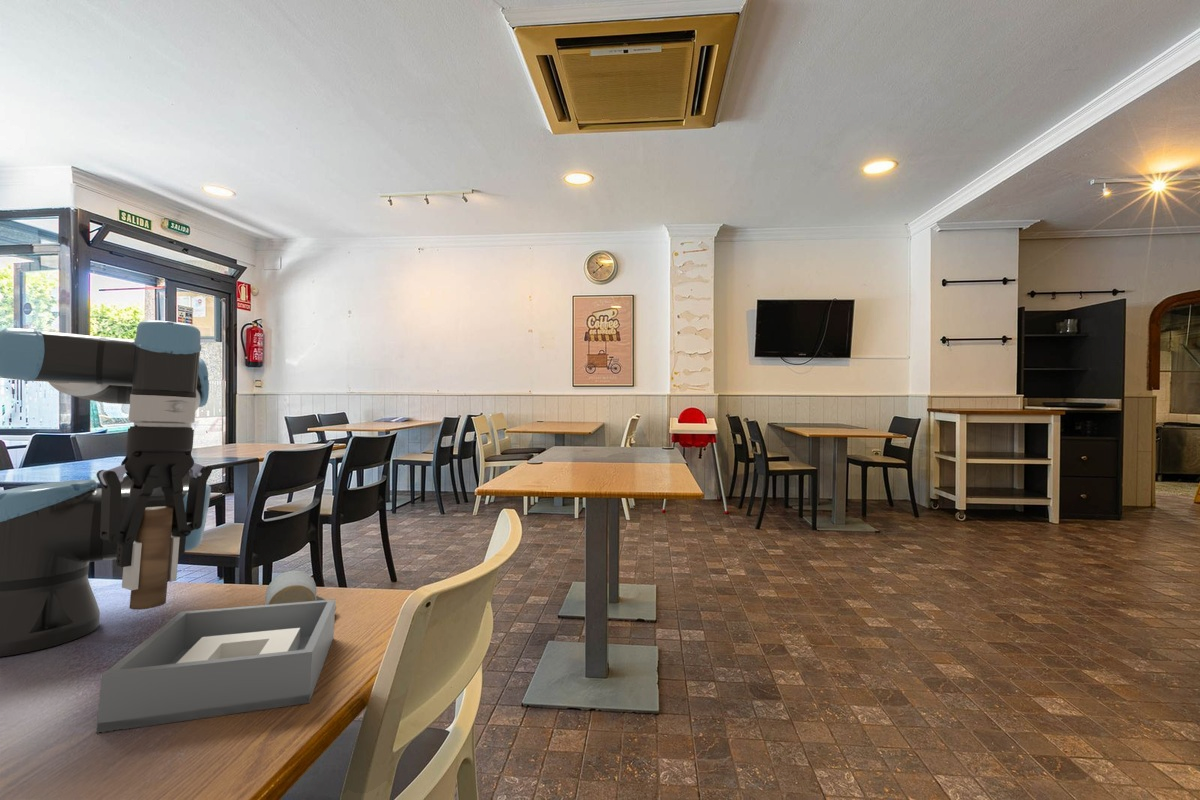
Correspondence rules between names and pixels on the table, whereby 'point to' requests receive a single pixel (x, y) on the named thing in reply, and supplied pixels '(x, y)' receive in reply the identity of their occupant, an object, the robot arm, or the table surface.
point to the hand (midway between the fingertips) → (149, 583)
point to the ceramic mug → (292, 588)
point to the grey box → (219, 665)
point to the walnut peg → (153, 558)
